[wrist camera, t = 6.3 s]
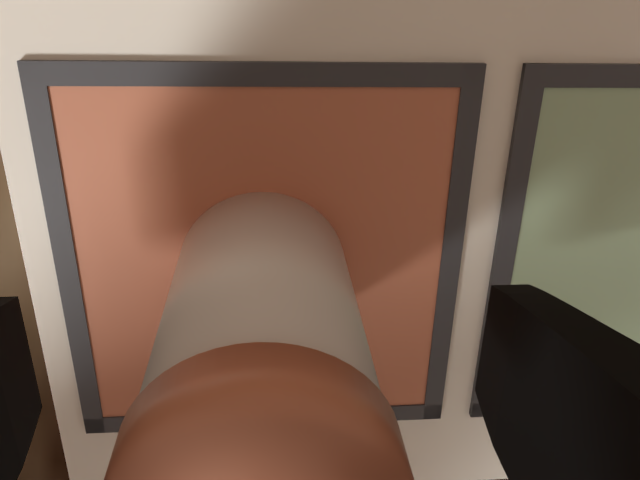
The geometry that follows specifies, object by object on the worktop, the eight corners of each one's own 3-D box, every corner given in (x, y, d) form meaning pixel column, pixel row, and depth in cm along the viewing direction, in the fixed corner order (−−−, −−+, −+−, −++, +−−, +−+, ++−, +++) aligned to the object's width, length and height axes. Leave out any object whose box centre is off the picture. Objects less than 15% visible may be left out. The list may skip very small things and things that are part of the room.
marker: (181, 345, 12) (112, 664, 7) (166, 187, 11) (62, 425, 5) (346, 339, 13) (411, 641, 7) (352, 185, 11) (439, 408, 6)
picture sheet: (80, 480, 15) (72, 505, 14) (-32, -85, 10) (-54, -88, 9) (745, 448, 16) (766, 469, 15) (953, -60, 11) (998, -61, 10)
